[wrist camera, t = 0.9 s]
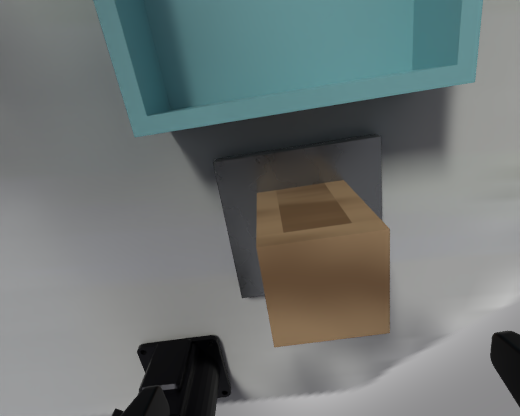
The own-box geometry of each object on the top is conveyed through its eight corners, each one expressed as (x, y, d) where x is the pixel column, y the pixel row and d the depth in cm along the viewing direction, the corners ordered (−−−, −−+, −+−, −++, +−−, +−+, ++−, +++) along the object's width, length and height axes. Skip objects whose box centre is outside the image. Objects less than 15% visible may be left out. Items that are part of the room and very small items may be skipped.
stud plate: (377, 271, 22) (411, 324, 17) (242, 289, 23) (238, 346, 18) (374, 134, 19) (418, 150, 14) (215, 159, 19) (199, 184, 14)
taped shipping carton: (347, 255, 21) (389, 332, 14) (269, 266, 21) (274, 347, 14) (343, 180, 19) (389, 229, 12) (256, 193, 19) (256, 247, 12)
